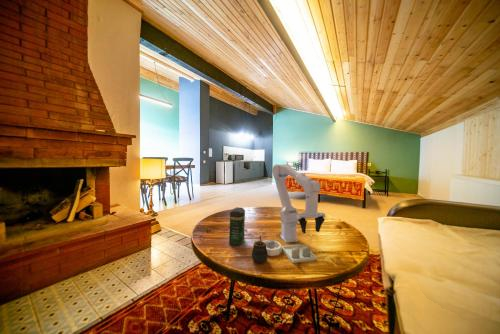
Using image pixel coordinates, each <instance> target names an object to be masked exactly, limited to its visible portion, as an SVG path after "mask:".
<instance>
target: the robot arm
mask: <svg viewBox="0 0 500 334" xmlns="http://www.w3.org/2000/svg"><path fill="white" fill-rule="evenodd" d="M271 172H272V175H273V179H274V183H275V185H276V189H277V192H278V196H279V199H280V203H281V206H282V209H281V210H280V211H279V213H280V214H279V215H280V222H281V225H280V227H281V228H280V234H279V237H280V238H281V239H282V240H283V241H284V242H285V243H287V244H288V243H296V242H299V241H300V239H298V238H297V225H298V222H299V224H300V228H301V233H303V234H306V232H307V231H306V230H307V223H308V221H307V220H306V219H314V221H315V227H314V228H315V232H316V233H320V230H321V228H322V225H323V223H324V222H325V218H326V213H324V212H318V207H319V206H318V205H319V204H318V201H319V192H320V191H321V190H322V189H321V187H322V185H321V183H320V182H319V181H318V180H313V179H312V178H311V177H309V176H306V173H299V172H297V171H296V170H295V169H293V168H292V166H291V165H290V164H287V163H286V164H278V163H277V164H274V165H273V167H272V170H271ZM288 177H291V178H293V179H295V183H297V184H298V185H299V186H300V187H301V188H303V191H304V195H305V210H304V212H301V213H299V212H298V210H297V209H296V207H294V206H293V205H292V201H291V198H290V196H289V193H288V190H287V189H288V188H287V186H286V182H285V181H286V179H287V178H288Z"/></svg>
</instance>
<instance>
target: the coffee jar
mask: <svg viewBox="0 0 500 334" xmlns="http://www.w3.org/2000/svg"><path fill="white" fill-rule="evenodd" d="M245 219H246V210H245V208H243V207H234V208H233V209H231V210H230V211H229V233H228V234H229V236H228V243H229V244H230V245H233V246H239V245H242V244H243V243H244V241H245V223H246V222H245Z"/></svg>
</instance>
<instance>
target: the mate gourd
mask: <svg viewBox="0 0 500 334" xmlns="http://www.w3.org/2000/svg"><path fill="white" fill-rule="evenodd" d="M263 241H264V240H263ZM263 241H262V236H261V235H259V240H257V241H255V242H253V248H252V251H251V258H252V260H253V261H254V262H255V263H256V264H263V263H265V262H266V261H267V260H268V256H269V255H268V253H267V249H266V243H265V242H263Z"/></svg>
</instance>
